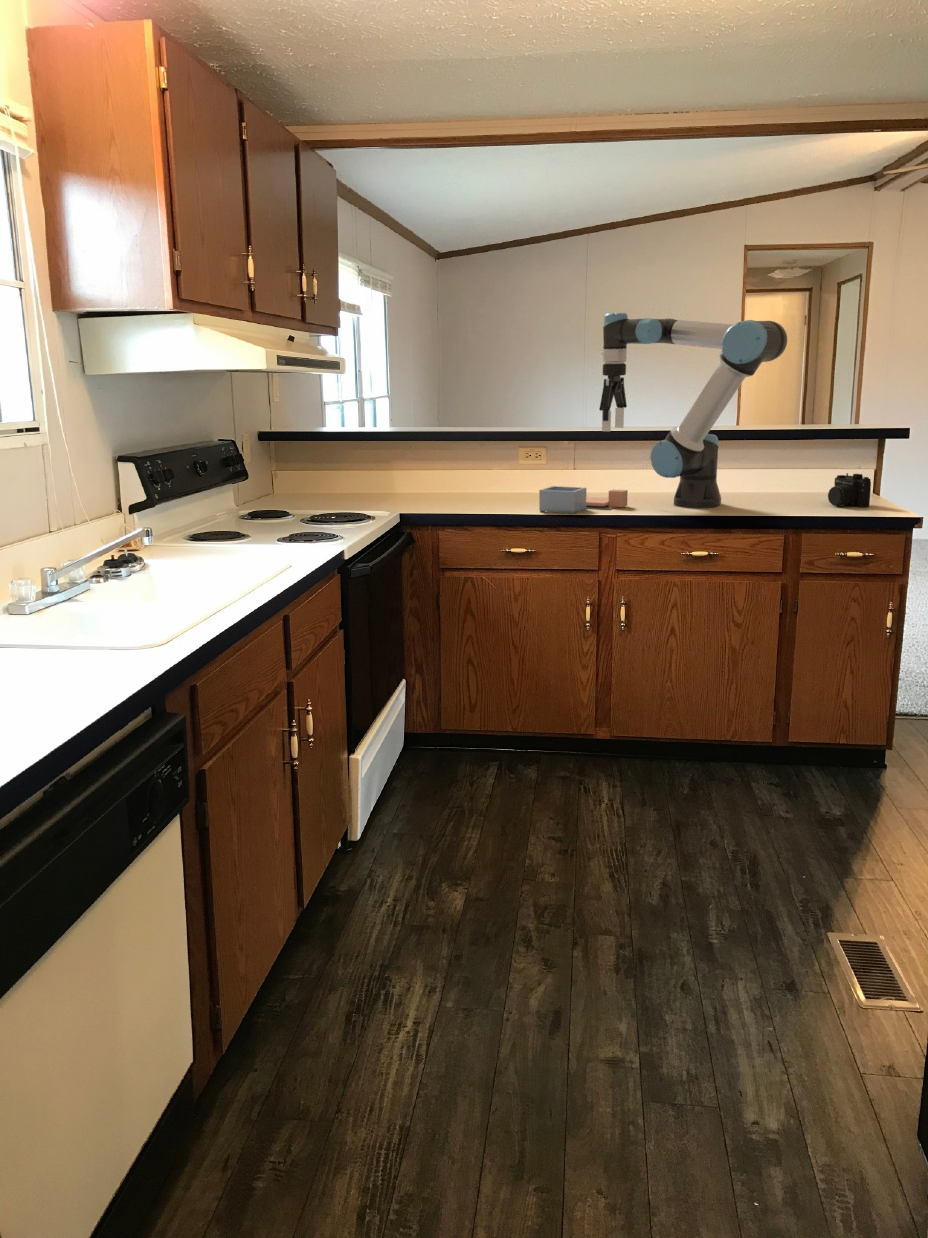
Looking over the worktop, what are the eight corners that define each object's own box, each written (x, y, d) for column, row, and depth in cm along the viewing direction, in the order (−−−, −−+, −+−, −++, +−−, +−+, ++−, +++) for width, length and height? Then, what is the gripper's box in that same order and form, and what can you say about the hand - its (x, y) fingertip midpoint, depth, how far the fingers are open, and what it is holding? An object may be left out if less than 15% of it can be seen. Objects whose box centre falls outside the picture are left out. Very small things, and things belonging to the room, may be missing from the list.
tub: (586, 509, 321) (586, 487, 319) (574, 513, 312) (574, 491, 310) (552, 507, 326) (552, 485, 324) (539, 511, 318) (539, 489, 316)
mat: (624, 504, 329) (624, 503, 329) (609, 509, 318) (609, 508, 318) (576, 501, 337) (576, 500, 337) (561, 506, 326) (561, 505, 326)
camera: (815, 503, 321) (817, 472, 319) (842, 501, 325) (844, 470, 322) (845, 509, 309) (848, 477, 306) (872, 507, 312) (875, 475, 310)
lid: (630, 504, 327) (631, 488, 325) (619, 508, 318) (619, 493, 316) (580, 501, 335) (580, 486, 334) (567, 505, 326) (567, 490, 325)
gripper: (615, 361, 333) (613, 425, 339) (590, 363, 311) (589, 432, 317) (637, 361, 330) (635, 426, 335) (613, 363, 308) (611, 432, 314)
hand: (612, 429), depth 326 cm, fingers open, 13 cm apart
